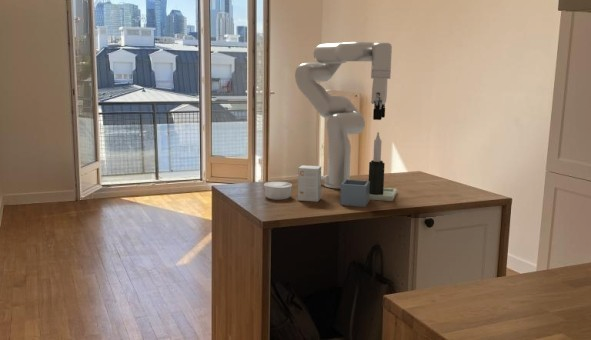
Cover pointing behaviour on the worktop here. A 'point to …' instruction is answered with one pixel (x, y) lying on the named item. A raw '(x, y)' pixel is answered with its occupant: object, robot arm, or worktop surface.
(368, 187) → the holder
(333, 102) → the robot arm
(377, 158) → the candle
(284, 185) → the ramekin
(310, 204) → the worktop surface
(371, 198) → the tray
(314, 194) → the small box
